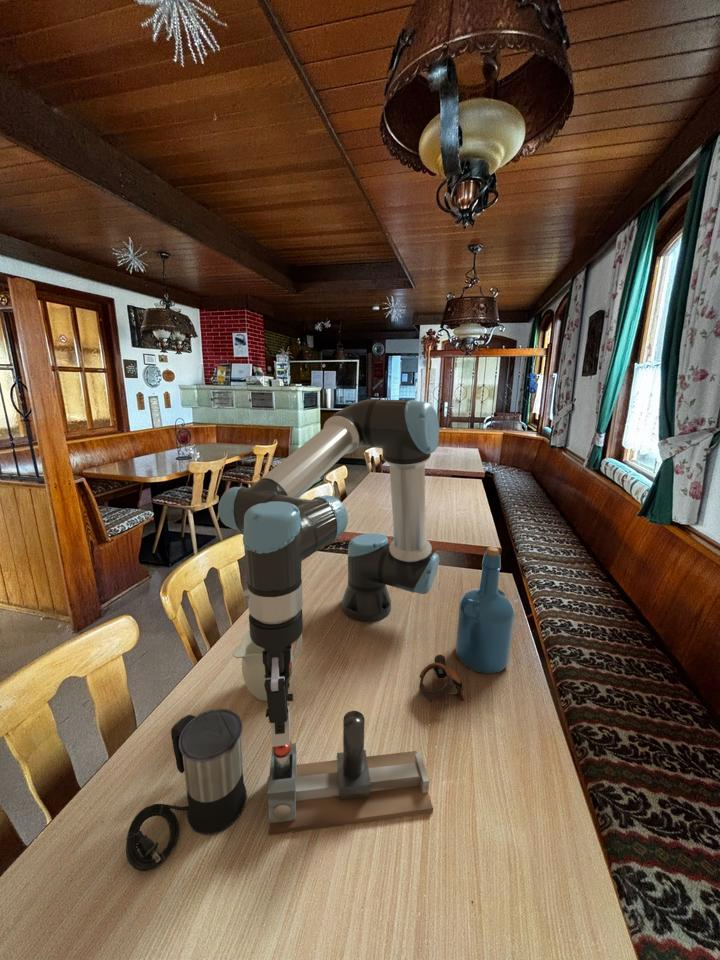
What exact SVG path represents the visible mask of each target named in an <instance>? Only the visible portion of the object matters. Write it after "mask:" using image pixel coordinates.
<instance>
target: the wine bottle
mask: <svg viewBox="0 0 720 960" xmlns="http://www.w3.org/2000/svg"><path fill="white" fill-rule="evenodd" d="M501 557H502V556H501V554H500V550H499V548H497V547H495V546H489V547H487V550H486V551H485V552H484V555H483V558H482V563H481V567H482V569H481V574H480V581H479V588H478V587H477V588H472V589H470V590H469V591H467V592H465V593H464V594H463V595H462V596H461V597H460V601H459V608H458V619H457V630H456V631H457V632H456V633H457V634H456V643H455V654H456V656H457V657H458V659H459V660H460V662H461V663H462V665H464V666H465V667H468V669H471V670H472V671H473V672H478V673H483V674H487V675H490V674H496V673H500V672H502V671H503V670H504V669H505V668H506V667H507V666H508V665H509V664H510V657H511V651H512V644H513V643H512V642H513V635H514V628H515V626H514V625H515V620H516V613H515V607H514V604H513V603H512V601H511V600H510V599H509V598H508V597H507V596H506V594H507V593H506V592H504V591H502V590H501V589H499V586H500V584H499V583H500V570H502V564H501V560H502V558H501Z"/></svg>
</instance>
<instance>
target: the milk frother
mask: <svg viewBox="0 0 720 960" xmlns="http://www.w3.org/2000/svg"><path fill="white" fill-rule="evenodd" d="M242 731H243V722H242V719H241V717H240V716H239V715H238V713H236V712H235V711H233V710H231V709H228V708H212V709H209V710H207V711H203V712H201V713H199V714H197V716H196V715H193V714H187V715H185V716H184V717H182V718H180V719H179V720H178V721H177V722H176V723H175V724H173V726H172V727H171V729H170V735H171V741H172V747H173V752H174V758H175V763H176V768H177V771H178V772H179V773H180V774H183V773H184V778H185V780H184V781H185V787H186V796H187V805H185V806H177V805H172V804H165V803H156V804H151V805H148V806H146V807H145V808H143V809H141V810H140V811H139V812H138V813H137V814H136V816H135V817H134V818H133V820H132V822H131V823H130V826H129V829H128V833H127V836H126V843H125V844H126V845H125V852H126V858H127V862H128V863H129V865H130V866H131V867H132V868H133V869H135V870H137V871H139V872H149V871H151V870H153V869H156V868H158V867H159V866H160V865H162V864H163V863H164V861H165V860H166V859H168V857H169V856H170V855H171V853H172V852H173V850H174V848H175V846H176V844H177V842H178V841H177V840H178V837H179V831H180V829H179V828H180V827H179V821H178V817H177V815H176V814H175V813H174V812H173V811H174V810H176V811H180V812H186V815H187V816H186V818H187V823H188V825H189V826H190V827H191V830H194V831H195V832H197V833H198V834H201V835H215V834H218V833H221V832H223V831H224V830H226V829H228V828H229V827H231V825H232V824H233V823H235V822H236V821H237V820H238V819H239V817H240V816H241V814H242V812H243V811H244V808H245V805H246V801H247V788H246V785H245V780H244V770H243V769H244V768H243V767H244V766H243V748H242V747H243V746H242ZM172 810H173V811H172ZM153 817H162V818H164V819H165V820H166V822H167V824H168V827H169V835H168V836H169V837H168V841H167V844H166V845H165V847H164V849H163V850H162V851H161V852H160V853H159V852H158V851H157V850H158V846H159V841H156V842H154V841H153V840H152V839H151V838H150V837H148V835H146V834H145V835H144V834H143V831H142V830H141V827H142V826H143V823H145V821H146V820H148V819H149V818H153Z"/></svg>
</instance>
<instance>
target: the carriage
mask: <svg viewBox="0 0 720 960" xmlns="http://www.w3.org/2000/svg"><path fill="white" fill-rule="evenodd" d="M342 719H343V723H342V725H343V731H342V732H343V733H342V734H343V735H342V736H343V737H342V738H343V740H342V745H343V746H342V749H343V750H342V752H337V753H336V760H337V772H338V779H339V801H341V800H349V799H357V798H364V797H370V792H371V782H370V776H369V769H368V763H367V757H368V756H367V750H366V749H365V720H366V719H365V716H364V714H363V713H362V712H360V711H358V710H349V711H348V712H346V713H345V715H344V717H343V718H342Z"/></svg>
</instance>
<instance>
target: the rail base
mask: <svg viewBox="0 0 720 960" xmlns="http://www.w3.org/2000/svg"><path fill="white" fill-rule="evenodd" d="M417 752H418V751H417V750H414V751H413V750H412V751H404V752H397V753H388V754H386V753H385V754H378V755H369V756H366V757H367V763H368V769H369V776H370V782H371V792H370V797H364V798H357V799H349V800H341V801H339V779H338V772H337V759H335V760H325V761H317V762H308V763H300V764H297V763H298V762H297V761H298V760H297V742H293V743H291V751H290V753H289V761H290V770H289V772H288V773H287V774H286V775H284V776H279V775H278V774H277V773H276V761H275V755H274V754H273V747H271V755H270V756H271V757H270V766H269V767H270V768H269V778H268V789H267V802H268V817H269V818H268V820H269V824H268V825H269V827H268V836H275V835H281V834H289V833H296V832H297V833H298V832H304V831H305V832H306V831H310V830H311V831H312V830H318V829H326V828H332V827H340V826H346V825H354V824H355V825H356V824H361V823H369V822H376V821H384V820H391V819H398V818H403V817H410V816H411V817H412V816H413V817H414V816H419V815H426V814H433V813H434V806H433V804H432V801H431V797H430V793H429V789H430V779H429V775H428V772H427V768H426V766H425V762H424V759H423V756H422V752H418V753H417Z"/></svg>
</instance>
